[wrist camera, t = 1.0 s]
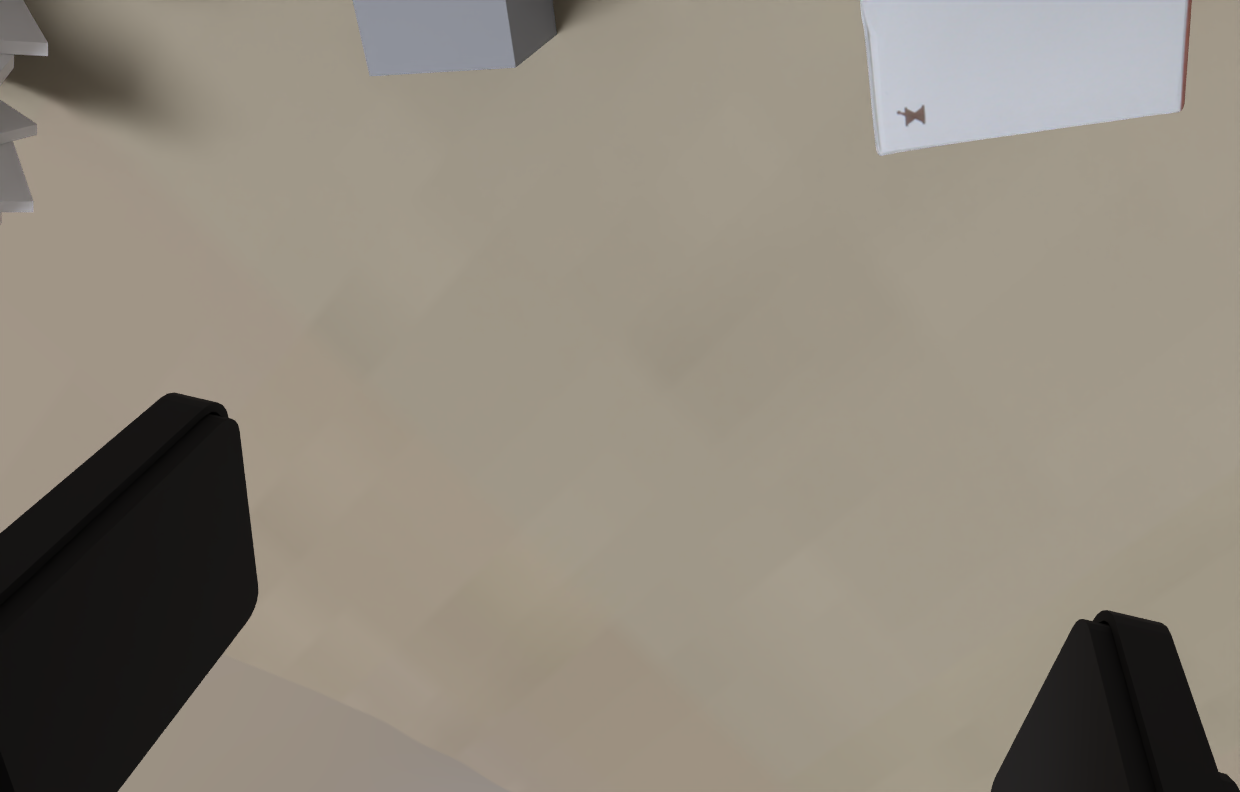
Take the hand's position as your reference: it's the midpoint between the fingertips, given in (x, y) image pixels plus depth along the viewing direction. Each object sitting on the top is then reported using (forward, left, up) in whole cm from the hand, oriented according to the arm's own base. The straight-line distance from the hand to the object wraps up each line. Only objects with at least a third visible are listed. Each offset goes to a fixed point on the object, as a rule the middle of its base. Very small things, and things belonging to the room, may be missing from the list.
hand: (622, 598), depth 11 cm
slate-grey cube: (+11, -4, -27) cm, 29 cm away
